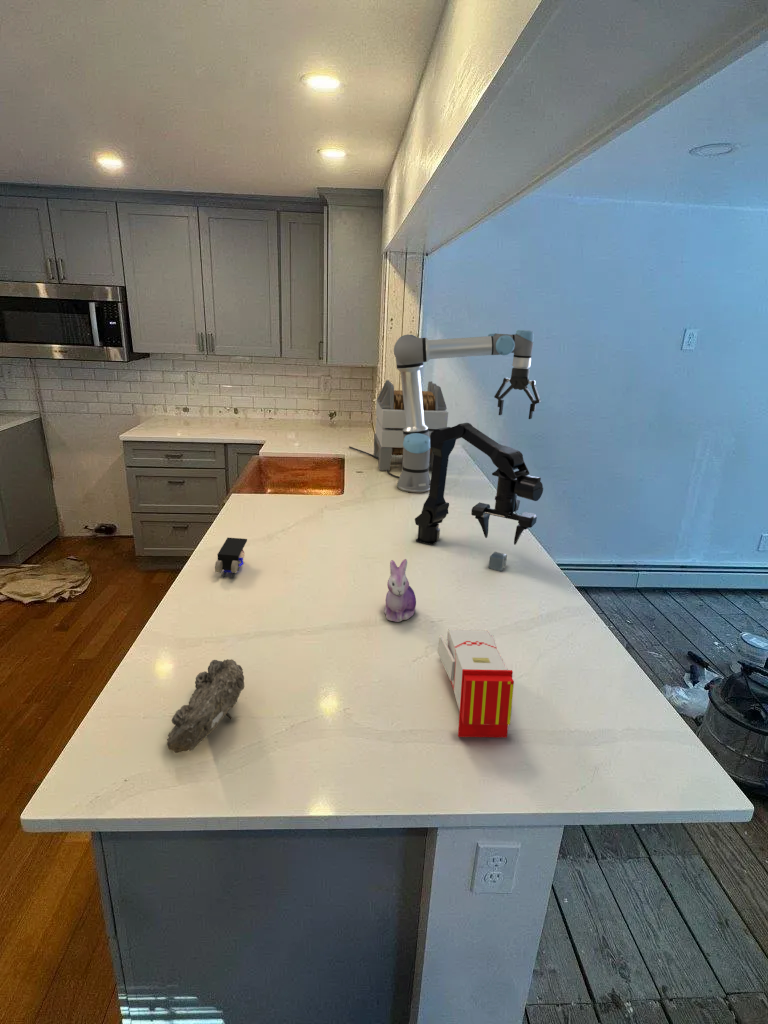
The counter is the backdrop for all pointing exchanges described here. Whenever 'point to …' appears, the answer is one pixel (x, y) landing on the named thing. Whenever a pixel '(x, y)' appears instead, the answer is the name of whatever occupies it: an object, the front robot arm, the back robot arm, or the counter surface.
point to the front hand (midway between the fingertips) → (500, 540)
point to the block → (497, 561)
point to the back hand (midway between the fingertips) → (515, 416)
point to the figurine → (399, 594)
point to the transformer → (403, 420)
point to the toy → (478, 682)
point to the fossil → (206, 705)
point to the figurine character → (230, 556)
